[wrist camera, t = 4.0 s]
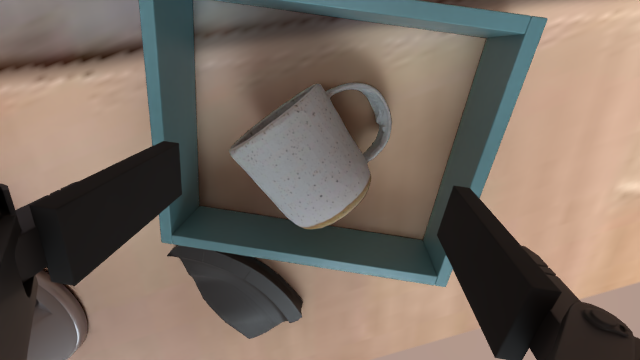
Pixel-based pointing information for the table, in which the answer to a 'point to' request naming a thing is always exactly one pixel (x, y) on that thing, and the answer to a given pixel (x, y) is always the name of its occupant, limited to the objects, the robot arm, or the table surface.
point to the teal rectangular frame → (333, 242)
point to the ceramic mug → (312, 156)
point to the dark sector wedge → (241, 289)
